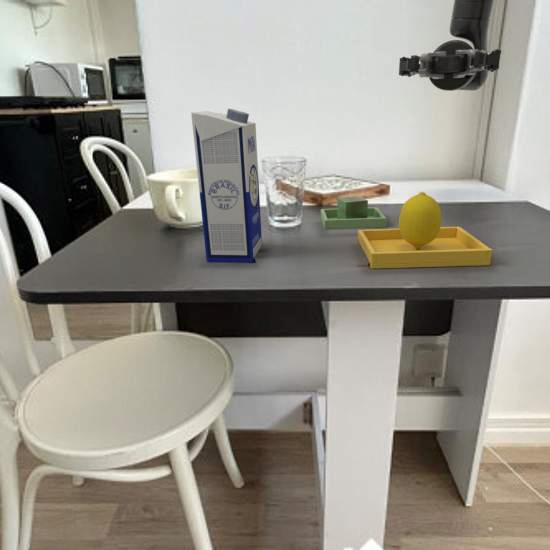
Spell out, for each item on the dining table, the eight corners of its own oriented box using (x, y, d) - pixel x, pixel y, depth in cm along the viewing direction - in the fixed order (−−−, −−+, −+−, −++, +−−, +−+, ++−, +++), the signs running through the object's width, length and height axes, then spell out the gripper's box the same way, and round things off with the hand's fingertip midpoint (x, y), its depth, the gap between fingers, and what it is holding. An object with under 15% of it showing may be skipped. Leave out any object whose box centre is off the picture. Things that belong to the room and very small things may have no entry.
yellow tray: (457, 239, 66) (459, 226, 66) (490, 265, 56) (492, 249, 55) (357, 243, 67) (357, 229, 66) (370, 268, 57) (371, 253, 56)
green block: (357, 218, 79) (358, 195, 77) (367, 223, 75) (368, 200, 74) (336, 220, 78) (337, 197, 76) (345, 225, 74) (345, 202, 73)
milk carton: (220, 246, 68) (207, 109, 61) (262, 247, 67) (254, 107, 60) (206, 262, 62) (190, 110, 54) (252, 262, 60) (243, 108, 53)
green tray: (376, 218, 80) (376, 207, 80) (386, 230, 73) (386, 218, 72) (320, 220, 81) (320, 209, 80) (324, 232, 73) (324, 220, 72)
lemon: (396, 254, 60) (400, 195, 57) (398, 242, 65) (401, 187, 62) (439, 256, 58) (445, 196, 55) (437, 244, 63) (443, 188, 60)
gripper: (412, 46, 77) (394, 36, 63) (503, 38, 71) (504, 25, 57) (409, 92, 79) (391, 92, 66) (496, 88, 74) (496, 87, 60)
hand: (444, 61), depth 62 cm, fingers open, 8 cm apart
